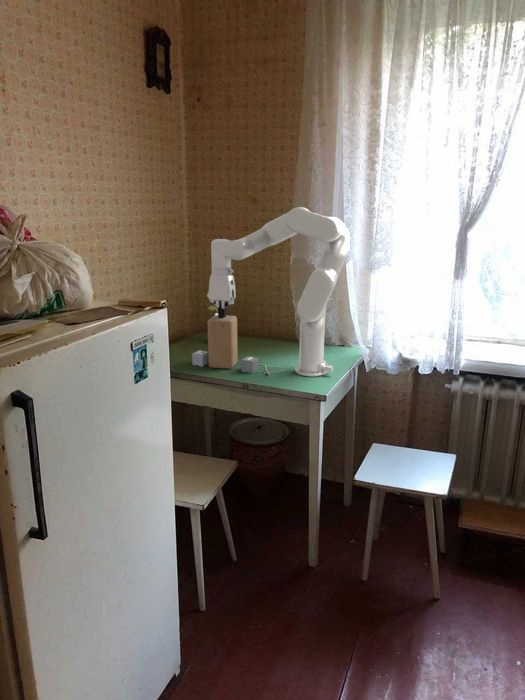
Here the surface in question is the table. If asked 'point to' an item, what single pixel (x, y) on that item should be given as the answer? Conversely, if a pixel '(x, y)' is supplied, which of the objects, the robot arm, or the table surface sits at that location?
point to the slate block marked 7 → (200, 358)
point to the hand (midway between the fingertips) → (222, 317)
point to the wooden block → (222, 342)
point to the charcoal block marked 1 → (250, 364)
